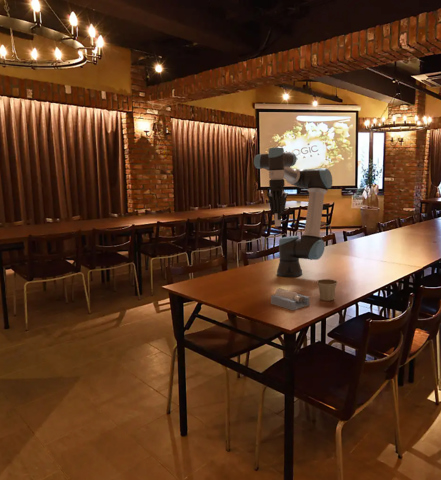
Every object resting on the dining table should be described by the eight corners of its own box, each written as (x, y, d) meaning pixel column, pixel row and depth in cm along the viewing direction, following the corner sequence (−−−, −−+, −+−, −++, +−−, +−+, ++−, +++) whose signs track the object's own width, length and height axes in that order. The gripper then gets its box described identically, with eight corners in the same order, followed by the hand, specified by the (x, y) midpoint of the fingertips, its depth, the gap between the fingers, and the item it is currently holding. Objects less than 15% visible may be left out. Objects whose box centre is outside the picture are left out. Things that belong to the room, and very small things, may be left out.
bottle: (276, 287, 188) (299, 293, 177) (283, 288, 192) (306, 294, 180) (274, 298, 188) (297, 305, 177) (281, 299, 192) (304, 306, 180)
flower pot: (333, 295, 193) (333, 278, 192) (340, 301, 184) (340, 283, 182) (314, 296, 193) (314, 279, 191) (320, 302, 183) (320, 284, 182)
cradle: (271, 303, 186) (270, 295, 185) (287, 298, 192) (287, 290, 192) (292, 310, 175) (292, 302, 174) (309, 304, 181) (309, 296, 180)
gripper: (262, 179, 198) (263, 226, 202) (280, 179, 188) (281, 227, 192) (273, 179, 203) (274, 224, 206) (291, 178, 192) (292, 226, 196)
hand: (278, 226), depth 199 cm, fingers closed
